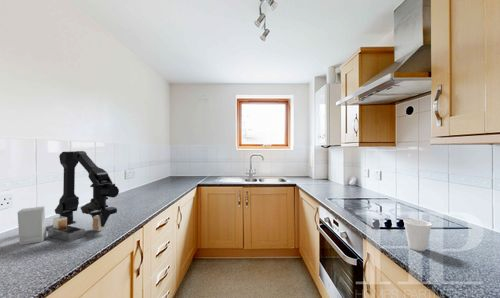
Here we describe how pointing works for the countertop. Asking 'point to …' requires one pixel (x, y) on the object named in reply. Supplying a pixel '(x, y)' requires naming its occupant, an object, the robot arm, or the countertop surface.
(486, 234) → the countertop surface
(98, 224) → the pale upright block
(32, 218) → the skincare box
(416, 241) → the cup
